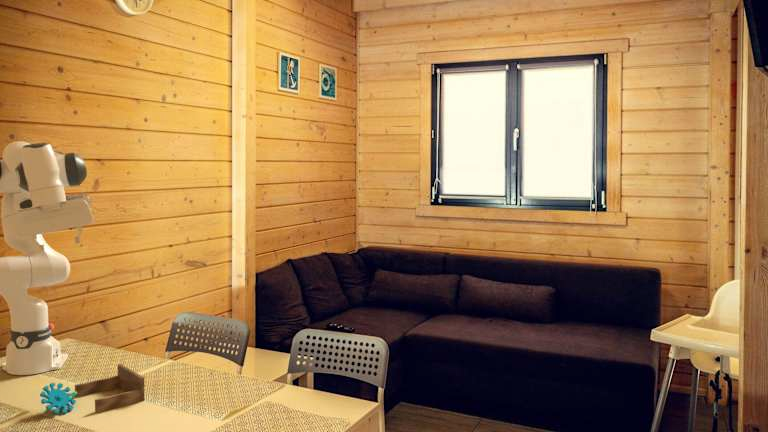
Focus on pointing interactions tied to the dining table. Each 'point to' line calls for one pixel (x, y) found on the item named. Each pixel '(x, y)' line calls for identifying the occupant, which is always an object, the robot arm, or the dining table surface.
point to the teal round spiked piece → (58, 398)
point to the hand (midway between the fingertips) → (60, 246)
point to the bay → (124, 380)
